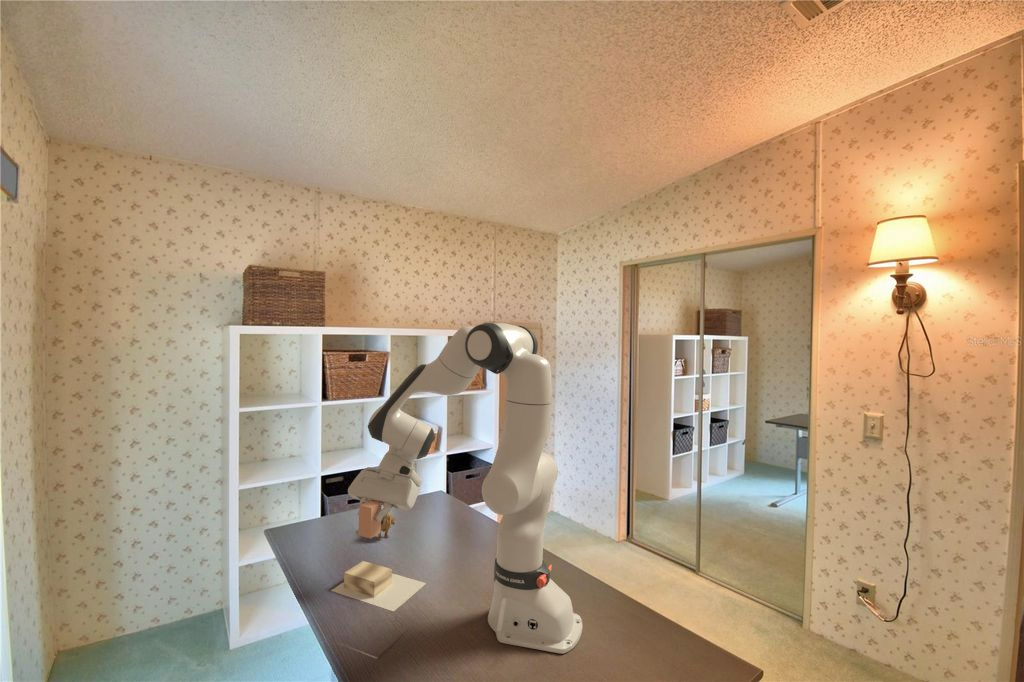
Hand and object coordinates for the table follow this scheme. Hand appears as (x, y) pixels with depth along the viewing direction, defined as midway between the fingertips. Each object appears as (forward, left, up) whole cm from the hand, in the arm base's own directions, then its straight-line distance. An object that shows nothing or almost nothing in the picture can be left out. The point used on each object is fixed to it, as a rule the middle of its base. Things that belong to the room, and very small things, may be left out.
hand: (368, 518), depth 121 cm
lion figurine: (+17, -27, -19) cm, 37 cm away
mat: (-3, -2, -19) cm, 19 cm away
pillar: (0, -1, -4) cm, 4 cm away
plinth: (0, -1, -18) cm, 18 cm away
